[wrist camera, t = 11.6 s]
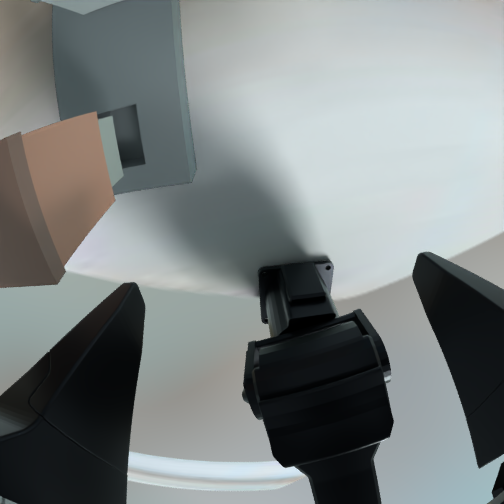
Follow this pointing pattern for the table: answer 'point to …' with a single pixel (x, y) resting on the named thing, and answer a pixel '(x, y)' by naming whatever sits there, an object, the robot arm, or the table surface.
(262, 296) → the robot arm
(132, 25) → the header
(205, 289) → the table surface
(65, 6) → the grey plug
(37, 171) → the brown rectangular block
